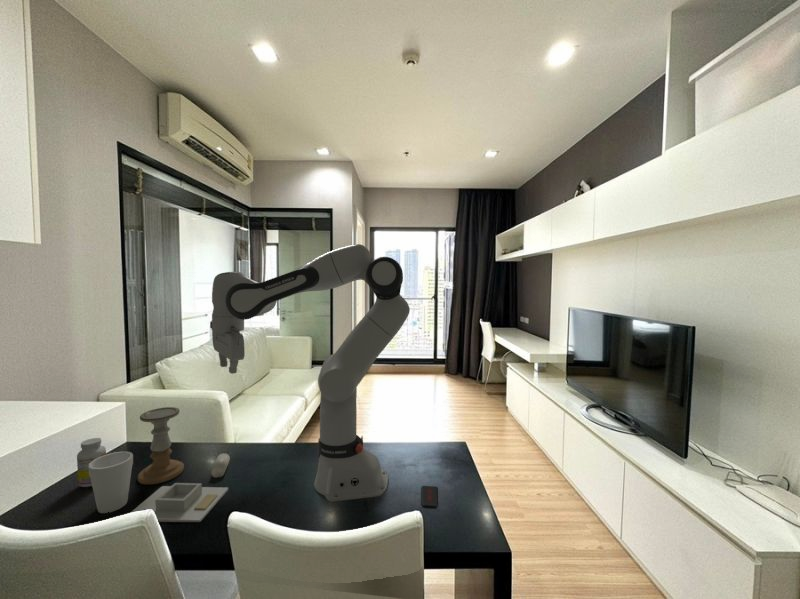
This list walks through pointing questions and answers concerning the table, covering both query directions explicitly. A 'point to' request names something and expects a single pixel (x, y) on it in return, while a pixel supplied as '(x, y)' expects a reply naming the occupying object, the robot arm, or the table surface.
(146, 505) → the board
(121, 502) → the foam cup
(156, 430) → the candle holder
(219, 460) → the white capsule
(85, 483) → the supplement bottle
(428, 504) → the dark rectangular block
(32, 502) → the table surface
